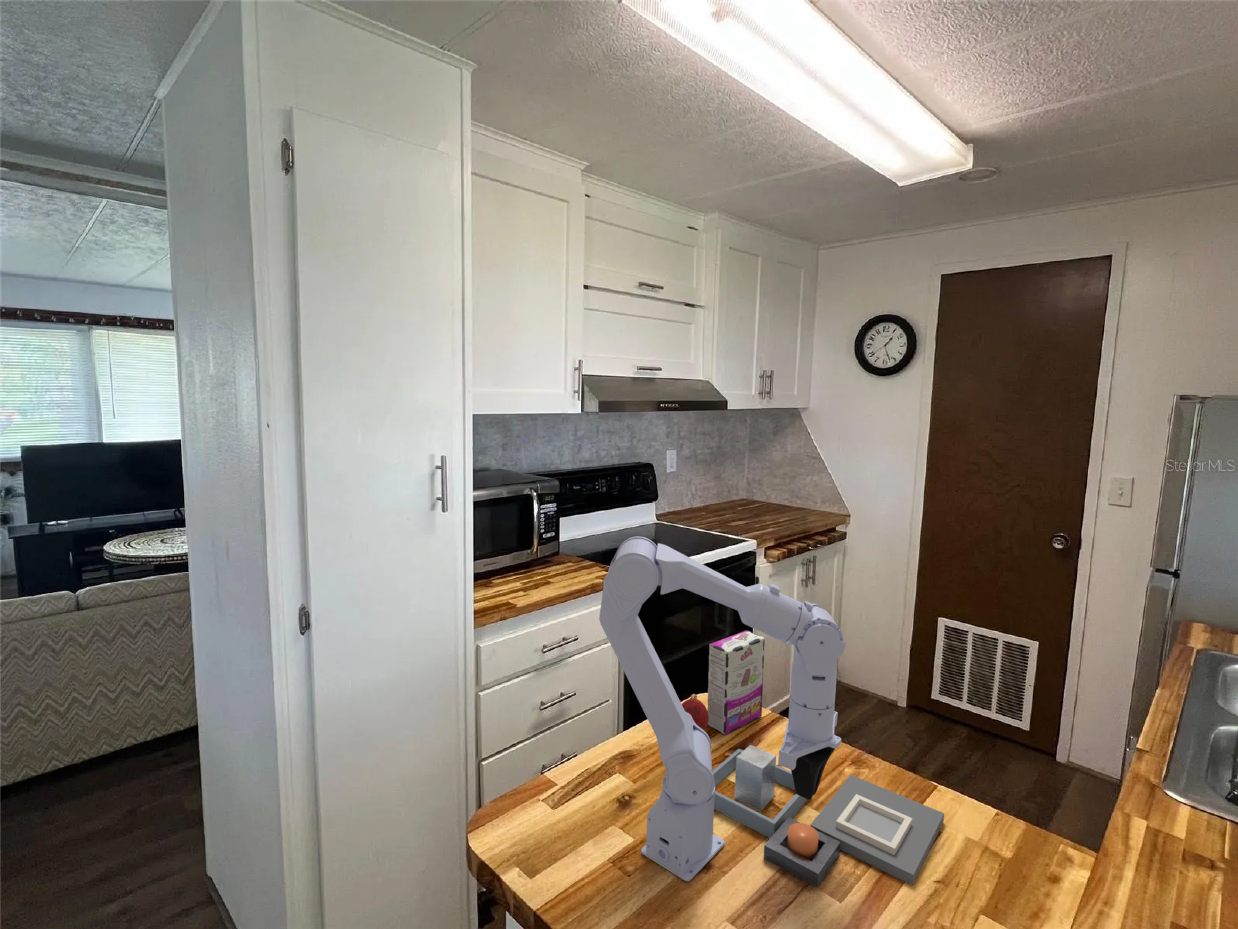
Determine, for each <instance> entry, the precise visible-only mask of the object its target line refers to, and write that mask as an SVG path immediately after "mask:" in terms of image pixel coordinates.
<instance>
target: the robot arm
mask: <svg viewBox="0 0 1238 929" xmlns="http://www.w3.org/2000/svg"><path fill="white" fill-rule="evenodd" d="M658 586H660V595H665V594H669V593H671V592H675V591H677V590H681V589H684V590H686V591H689V592H691V593H694V594H696V595H700V596H701V597H704V598H705V599H706V598H707V599H708V600H711V601H713V602H716V603H718V604H721V605H723V606H725V607H728V608H730V609H733V610H735V611H737V612H738V614H739V617H740V620H741V622H742V624H744V625H745V626H748V627H750V628H752V629H755V630H757V631H758V632H760V633H763V634H765V635H767V636H769V637H772V638H774V639H775V640H778V641H780V642H782V643H784V644H787V645H792V646H793V660H792V663H791V676H790V690H789V692H790V693H789V694H790V695H789V703H788V704H789V705H788V706H789V708H788V721H787V722H788V723H787V724H786V726H785V732H784V739H783V743H782V745H781V747H780V748H779V749H778V761H777V764H778V766H781V767H783V768H785V769H786V768H787V770H788V769H789V770H790V771H791V772H792V776H793V781H794V787H795V790H794V791H795V794H797V795H799V796H801V797H804V798H806V799H808V800H807V801H811V800H812V799H813V797H814V796H815V795H816V794H817V792H818V789H819V786H820V782H821V780H822V778H823V773H824V770H825V767H826V765H827V763H828V761H829V760H830V758H831V756H832V754H833V753H834V752H835V750H836V749H837V748H839V747H840V746H841V744H842V738H841V737H840V736H837V735H836V734H835V727H837V724H838V715H839V714H838V712H837V711H835V703H836V690H837V677H838V676H837V675H838V668H837V663H838V660H839V659H840V658H841V656H842V655H843V653H844V651H845V650H846V643H845V642H844V635H843V632H842V630H841V629H840V627H839V625H838V624H837V623H836V621H835V619H834V618H833V617H832V615H831V614H830V613H829V612H828V611H827V610H826V609H825V608H823V607H822V606H821V605H820V604H818V603H811V602H809V601H807V600H805V601H804V602H801V601H799V600H797V599H794V598H792V597H790V596H788V595H786V594H784V593H782V592H781V589H780V588H779V586H778V585H776V584H774V583H771V582H770V583H769V584H768V586H767V585H764V584H762V583H757V584H753V585H750V586H745V585H743V584H741V583H739V582H737V581H735V580H734V579H732V578H729V577H727V576H726V575H724V574H722V573H720V572H718V571H716V570H714V569H712V568H710V567H708V566H706V565H705V564H702V563H700V562H699V561H697V560H695V559H693V558H691V557H689V556H687V555H686V554H683V553H682V552H680V551H677V550H675V549H674V548H672V547H670V546H668V545H666V544H664V543H657V545H656V543H655V542H654V541H652V540H651V539H649V538H647V537H644V536H632V537H631V536H630V537H629V538H627V539H626V540H624V541H623V542H621V544H620V545H619V547H618V548H617V550H616V552H615V554H614V557H613V558H612V560H611V562H610V565H609V568H608V572H607V574H606V576H605V577H604V580H603V589H602V597H601V600H600V601H601V603H600V609H599V617H598V618H599V619H598V620H599V623H600V626H601V628H602V630H603V632H604V634H605V636H606V638H607V640H608V642H609V644H610V647H611V648H612V650H613V652H614V654H615V656H616V658H617V660H618V662H619V664H620V666H621V668H622V670H623V672H624V674H625V676H626V678H627V680H628V682H629V684H630V686H631V688H632V690H633V692H634V695H635V696H636V698H637V700H638V702H639V705H640V706H641V708H642V711H643V713H644V714H645V716H646V718H647V720H648V723H649V724H650V727H651V728H652V730H653V733H654V734H655V737H656V741H657V746H658V749H659V754H660V759H661V763H662V764H663V767H664V768H665V772H666V773H665V774H664V776H663V779H662V787H661V790H660V795H659V796H658V798H657V800H656V801H655V803H654V804H653V805H652V806H651V808H649V811H648V813H647V816H646V817H647V818H646V819H647V820H646V841H645V842H646V844H645V845H644V846H643V847H642V848H641V850H640V853H641V854H642V855H643V856H645V857H647V858H648V859H650V860H652V861H653V862H655V863H656V864H658V865H659V866H661V867H662V868H664V869H665V870H667V871H669V872H670V873H672V874H673V875H675V876H677V877H678V878H680V879H681V880H683V881H685V882H691V880H692V879H693V878H694V877H695V876H696V875H697V874H698V873H699V872H700V871H701V870H702V869H703V868H704V867H705V866H706V865H707V864H708V862H709V861H710V860H712V859H713V858H714V857H715V855H716V854H717V853H718V852H719V851H720V850H721V849H722V848H723V847H724V846H725V843H726V842H725V840H724V839H723V838H721V837H719V836H718V835H716V834H714V818H715V817H714V816H715V809H714V801H715V791H716V786H715V781H714V776H713V772H712V771H713V763H712V748H713V747H712V741H711V739H710V736H709V735H708V733H707V732H706V731H705V730H703V729H701V728H700V727H698V726H697V725H696V723H695V722H694V720H693V718H692V716H691V715H690V714H689V713H687V712H685V710H684V708H683V706H682V702H681V700H680V699H679V697H678V695H677V693H676V689H674V686H673V684H672V682H671V680H670V678H669V676H668V673H667V672H666V669H665V667H664V665H663V664H662V661H661V660H660V657H659V655H658V653H657V652H656V650H655V647H654V645H653V644H652V642H651V639H650V637H649V635H648V634H647V631H646V629H645V627H644V625H643V623H642V621H641V619H640V617H639V613H640V611H641V608H642V606H643V604H644V603H645V602H646V601H647V600H648V599H649V598H650V597H651V596H652V594H653V593H654V592H655V591H656V590H657V587H658Z"/></svg>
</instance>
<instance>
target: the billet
mask: <svg viewBox="0 0 1238 929" xmlns="http://www.w3.org/2000/svg"><path fill="white" fill-rule="evenodd" d="M776 765H777V755H776V754H773V753H770V752H768V751H766V750H764V749H762V748H759V747H757V746H754V745H752V744H750V745H749V746H746V748H745V749H743V752H741V753H740V754H739V755H738V756H737V757H736V769H735V775H734V776H735V780H734V797H733V799H735V800H737V801H738V802H740V803H743V804H745V805H747V806H749V807H751V808H753V809H755V810H756V811H759V812H762V811H763V809H764V808H765V807H766V806H767V805H768V804H769V803H770V802H771V801H772V800H773V799H774V798H775V784H776V782H775V769H776Z"/></svg>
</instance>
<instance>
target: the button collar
mask: <svg viewBox="0 0 1238 929" xmlns="http://www.w3.org/2000/svg"><path fill="white" fill-rule="evenodd" d="M794 823H801V822H800V821H798V820H795V819H794V818H790V817H788V818H787V820H786V821H785V822H784V823H783V824H782V825H781V827H780V828H779V829H778V830H777V831H776V832H775V833H774V835H773V836H772V837H771V838H769V839H768V840H767V842H765V844H764V845H763V846H764V847H763V859H764V860H765V861H767V862H770V863H771V864H772V865H775V866H776V867H778V868H780V869H781V870H784V871H785V872H787V873H789V874H791V875H793V876H794V877H796V878H798V879H800V880H802V881H804V882H806V883H807V884H809V885H811V886H813V887H814V888H819V886H820V885H821V883H822V881H823V880H824V879H825V877H826V876H827V874H828V873H829V872H830V870H831V868H832V867H833V866H834V864H835V862H837V860H838V858H839V857H840V853H841V852H840V851H841V850H840V842H839V841H837V840H835V839H833V838H831V837H829V836H827V835H825V834H823V833H821V832H818V831H817V833H818V836H819V837H818V852H817V855H816V856H815V858H814V859H811V860H808V859H806V858H804V857H802V856H800V855H798V854H797V853H795V852H793V851H791V850H789V849H788V848H787V840H788V828H789V826H790V825H792V824H794Z"/></svg>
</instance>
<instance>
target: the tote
mask: <svg viewBox="0 0 1238 929" xmlns="http://www.w3.org/2000/svg"><path fill="white" fill-rule="evenodd" d="M743 751H744V749H740V748H738V749H736V750H735V751H734V752H733V753H732V754H730V755H729V756H727V758H726V759H725V760H723V761H722V762H721V763H720V764H719V765H717V766H716V767H715V768H713V769H712V772H713V776H714V781H715V787H717V786H718V785H719V784H720V783H721V782H723V780H724V779H725V778H727V777H728V776H730V774H731V773H733V772H734V771H736V757H737V756H738V755H739V754H740V753H741V752H743ZM775 783H777V784H780V785H782V786H784V787H786V788H788V789H791V790H793V791H795V787H794V781H793V776H792V772H791V770H790V769H789V770H788V769H786V768H785V767H783V766H781V765H777V764H776V769H775ZM808 801H809V800H808V799H806V798H804V797H801V796H799V795H797V794H796V793H795V794H794V795H793V797H792V798H791V799H789V801H788V802H787V803H786V804H785V805H784V807H783V808H781V810H780V811H779V812H778V813H777V814H776V815H775V816H774V818H770V817H768V816H766V815H763V814H761V813H760V812H758V811H757V810H753V809H752V808H750V807H747V806H746V805H744V804H742V803H741V802H739V801H736V800H734V799H732V798H730V797H728V796H726V795H724V794H722V793H720V792H719V791H716V790H715V801H714V811H717V812H719V813H720V814H723V815H725V816H726V817H728V818H730V819H732V820H734V821H736V822H738V823H740V824H741V825H744V826H745V827H748V828H750V829H752V830H754V831H756V832H757V833H760V834H761V835H763V836H765V837H768V838H769V839H770V838H771V837H772V836H773V835H774V833H775V832H776V831H777V830H778V829H779V828H780V827H781V825H782V824H783V823H784V822H785V821H786V820H787V818H788V817H790V818H792V819H794V817H795V816H796V814H798V812H799V811H800V810H801V809H802V807H804V806H805V804H806V803H807V802H808Z"/></svg>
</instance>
